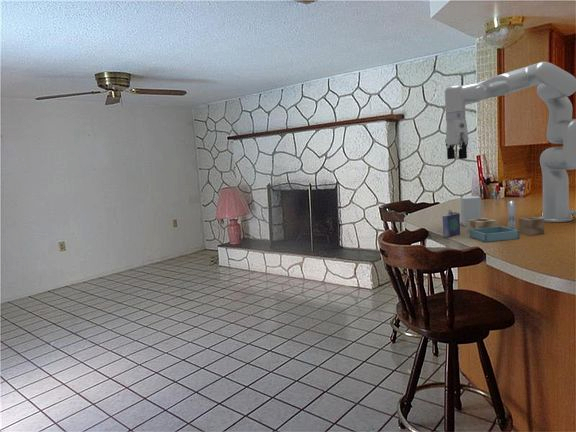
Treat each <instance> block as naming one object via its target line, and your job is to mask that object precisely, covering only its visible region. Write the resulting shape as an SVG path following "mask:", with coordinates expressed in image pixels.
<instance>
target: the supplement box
mask: <svg viewBox="0 0 576 432" xmlns="http://www.w3.org/2000/svg"><path fill="white" fill-rule="evenodd" d="M460 205H461V206H460V210H461V211H460V213H461V214H460V216H461V217H460V218H461V224H462V225H463V226H464V227H468V220H469V219H479V218H483V217H482V216H483V215H482V210H483V209H482V197H481V196H478V195H474V196H473V195H472V196H461V197H460Z"/></svg>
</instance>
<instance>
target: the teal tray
mask: <svg viewBox="0 0 576 432" xmlns="http://www.w3.org/2000/svg"><path fill="white" fill-rule="evenodd" d="M469 238H471V239H473V240H478V241H480V240H481V241H480V242H483V241H484V242H483V243H491V242H492V241H494V242H501V241H500V240H503V241H511V240H519V239H520V233H519V229H516V230H514V229H510V228H508V227H507V226H502V225H499V226H498V225H497V227H488V228H479V229H470V230H469Z"/></svg>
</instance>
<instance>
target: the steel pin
mask: <svg viewBox="0 0 576 432" xmlns="http://www.w3.org/2000/svg"><path fill="white" fill-rule="evenodd" d="M507 226H508V227H507V228H510V229H514V230H517V229H516V200H507Z"/></svg>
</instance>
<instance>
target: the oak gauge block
mask: <svg viewBox="0 0 576 432" xmlns="http://www.w3.org/2000/svg"><path fill="white" fill-rule="evenodd" d="M497 226H498V220H497V219H493V218H489V217H482V218H479V219H469V220H468V226H467V232H469V230H470V229H479V228H488V227H497Z"/></svg>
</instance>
